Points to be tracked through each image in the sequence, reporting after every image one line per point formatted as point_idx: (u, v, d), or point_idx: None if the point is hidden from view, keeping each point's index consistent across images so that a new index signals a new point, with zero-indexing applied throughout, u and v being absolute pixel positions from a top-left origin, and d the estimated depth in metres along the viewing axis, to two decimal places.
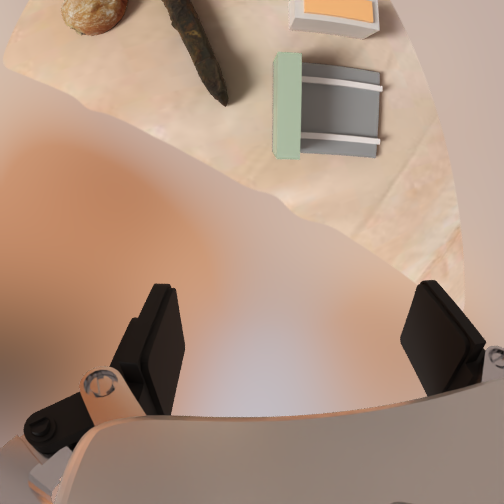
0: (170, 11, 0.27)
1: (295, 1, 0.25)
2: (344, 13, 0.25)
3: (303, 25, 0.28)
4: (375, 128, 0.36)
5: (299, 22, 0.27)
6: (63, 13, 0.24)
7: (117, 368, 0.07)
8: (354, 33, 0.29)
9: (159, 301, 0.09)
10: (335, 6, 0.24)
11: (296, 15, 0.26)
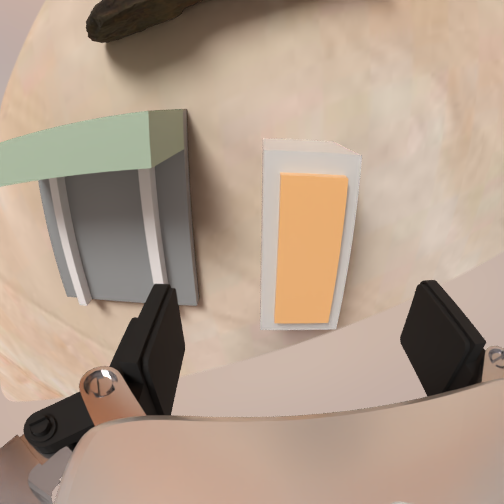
0: None
1: (315, 153, 0.13)
2: (286, 266, 0.15)
3: None
4: (104, 296, 0.23)
5: None
6: None
7: (117, 368, 0.07)
8: None
9: (159, 301, 0.09)
10: (304, 248, 0.14)
11: (271, 153, 0.13)
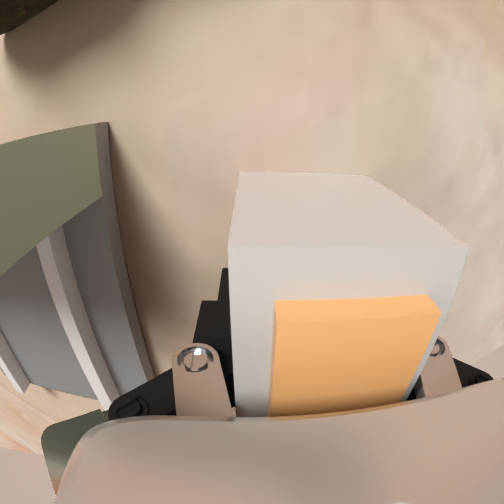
0: None
1: (368, 249, 0.05)
2: None
3: None
4: (42, 383, 0.14)
5: None
6: None
7: None
8: None
9: None
10: None
11: (249, 255, 0.05)
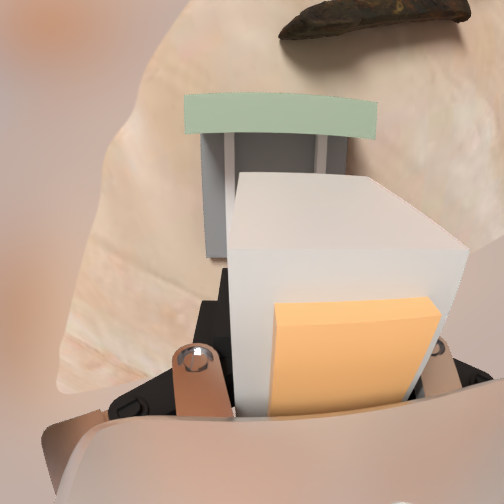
0: None
1: (369, 251, 0.05)
2: None
3: None
4: None
5: None
6: None
7: None
8: None
9: None
10: None
11: (248, 257, 0.05)
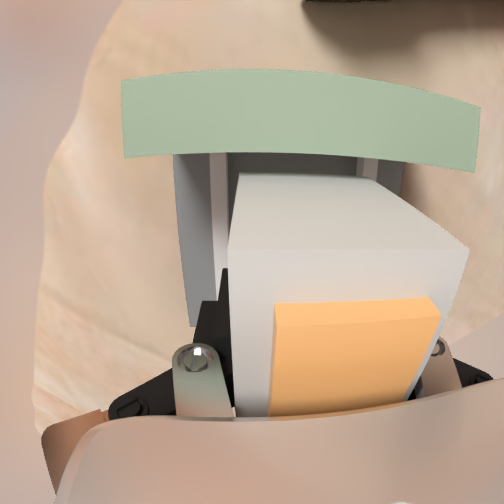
0: None
1: (368, 251, 0.05)
2: None
3: None
4: None
5: None
6: None
7: None
8: None
9: None
10: None
11: (248, 257, 0.05)
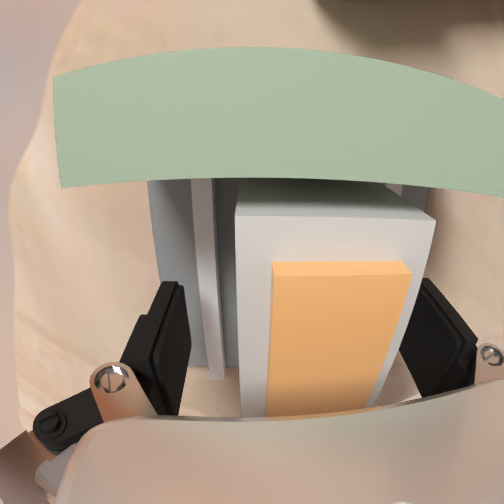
0: None
1: (347, 219, 0.06)
2: (282, 410, 0.08)
3: None
4: None
5: None
6: None
7: (127, 364, 0.08)
8: None
9: (168, 298, 0.09)
10: (315, 387, 0.07)
11: (251, 223, 0.06)
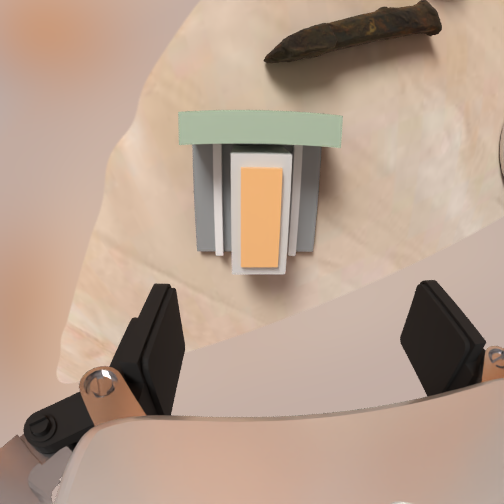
0: (401, 8, 0.19)
1: (262, 154, 0.22)
2: (246, 226, 0.23)
3: None
4: None
5: None
6: None
7: (117, 368, 0.07)
8: None
9: (159, 301, 0.09)
10: (257, 213, 0.23)
11: (235, 155, 0.22)
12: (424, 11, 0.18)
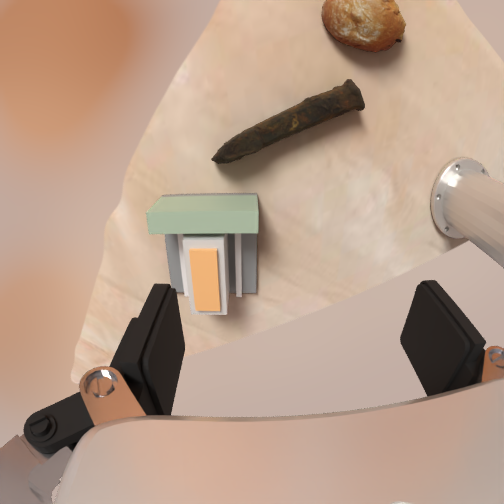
0: (325, 96, 0.30)
1: (203, 240, 0.33)
2: (196, 286, 0.35)
3: None
4: None
5: None
6: None
7: (117, 368, 0.07)
8: None
9: (159, 301, 0.09)
10: (202, 278, 0.34)
11: (185, 241, 0.33)
12: (347, 93, 0.29)
